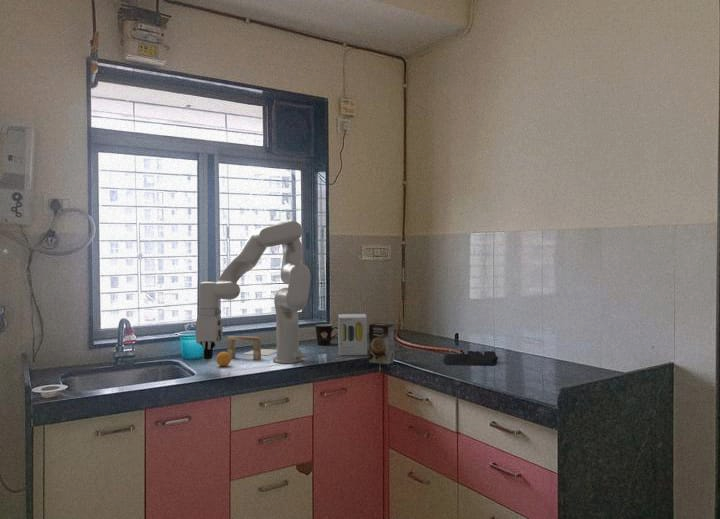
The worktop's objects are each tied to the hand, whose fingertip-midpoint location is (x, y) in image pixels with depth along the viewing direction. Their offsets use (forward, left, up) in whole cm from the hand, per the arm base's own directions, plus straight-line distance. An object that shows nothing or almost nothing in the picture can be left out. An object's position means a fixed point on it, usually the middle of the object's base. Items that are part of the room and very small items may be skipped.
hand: (208, 358), depth 206 cm
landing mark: (0, -42, -5) cm, 42 cm away
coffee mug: (-22, -69, -5) cm, 73 cm away
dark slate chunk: (-97, -45, -6) cm, 107 cm away
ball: (0, -10, -2) cm, 10 cm away
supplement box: (-42, -52, -5) cm, 67 cm away
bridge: (0, -26, -5) cm, 27 cm away
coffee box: (-61, -35, -5) cm, 71 cm away
